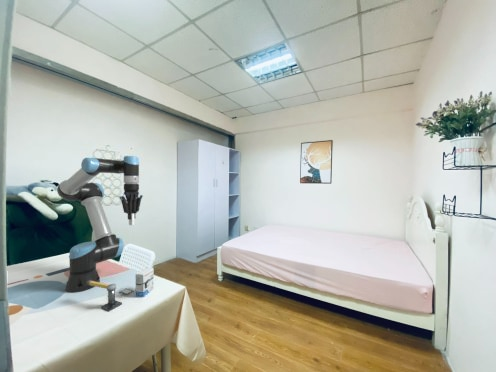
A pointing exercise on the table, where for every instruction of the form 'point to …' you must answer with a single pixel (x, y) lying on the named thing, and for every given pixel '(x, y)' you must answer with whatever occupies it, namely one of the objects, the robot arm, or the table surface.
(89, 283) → the swing arm
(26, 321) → the table surface
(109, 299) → the grey square fixture
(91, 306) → the table surface
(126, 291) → the label tile
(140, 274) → the ink box
